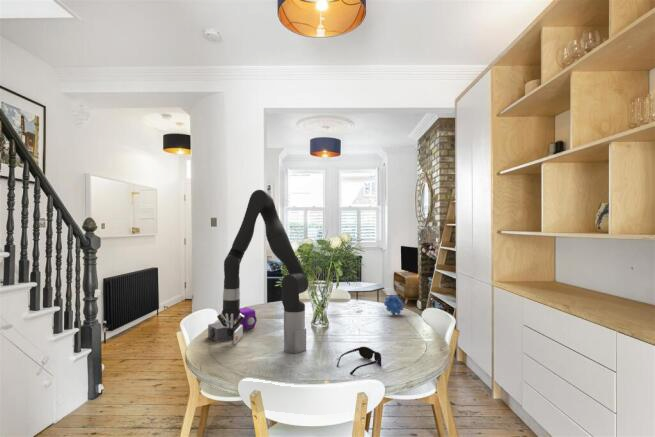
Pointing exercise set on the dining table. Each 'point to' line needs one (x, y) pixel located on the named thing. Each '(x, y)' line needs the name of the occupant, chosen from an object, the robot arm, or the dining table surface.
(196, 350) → the dining table surface
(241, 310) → the toy camera
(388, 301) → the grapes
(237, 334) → the side door
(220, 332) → the camera case
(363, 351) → the sunglasses
